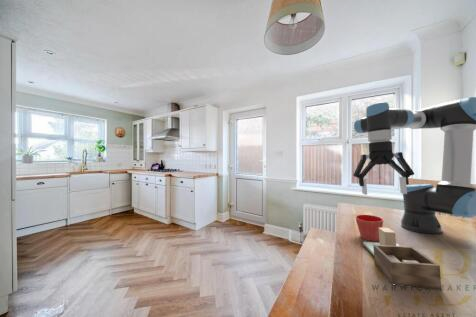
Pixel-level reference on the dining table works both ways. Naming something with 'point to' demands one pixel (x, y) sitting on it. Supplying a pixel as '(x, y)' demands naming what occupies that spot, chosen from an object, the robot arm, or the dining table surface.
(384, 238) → the lid
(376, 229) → the flower pot
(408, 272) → the crate
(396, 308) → the dining table surface
